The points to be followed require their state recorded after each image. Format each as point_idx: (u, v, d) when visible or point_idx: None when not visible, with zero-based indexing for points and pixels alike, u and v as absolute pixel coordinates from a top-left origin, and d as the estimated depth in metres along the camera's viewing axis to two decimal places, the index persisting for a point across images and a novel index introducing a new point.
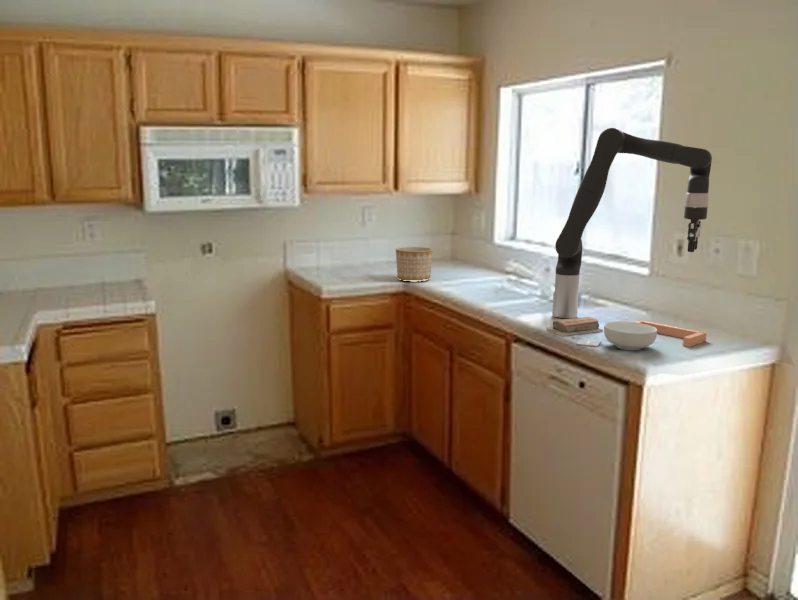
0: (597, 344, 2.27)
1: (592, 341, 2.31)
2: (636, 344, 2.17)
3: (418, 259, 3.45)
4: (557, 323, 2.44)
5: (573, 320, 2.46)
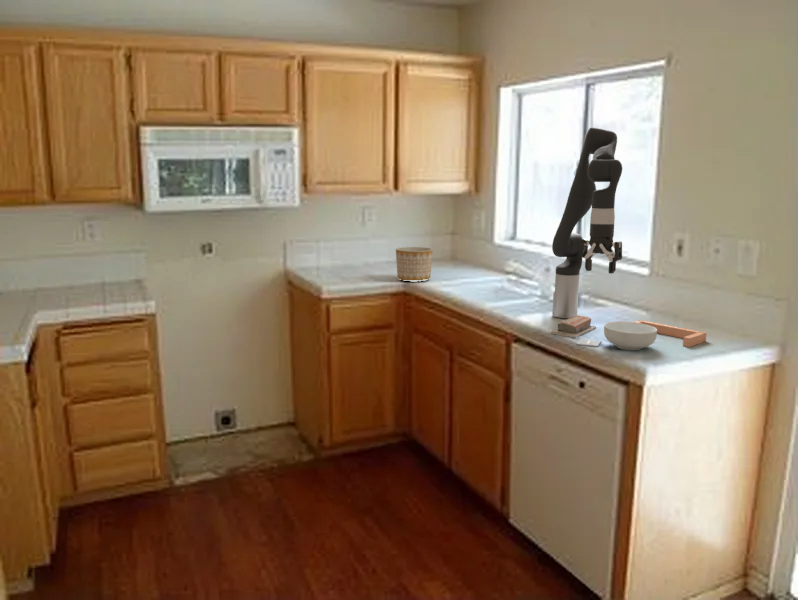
0: (597, 344, 2.27)
1: (592, 341, 2.31)
2: (636, 344, 2.17)
3: (418, 259, 3.45)
4: (564, 325, 2.41)
5: (574, 320, 2.46)
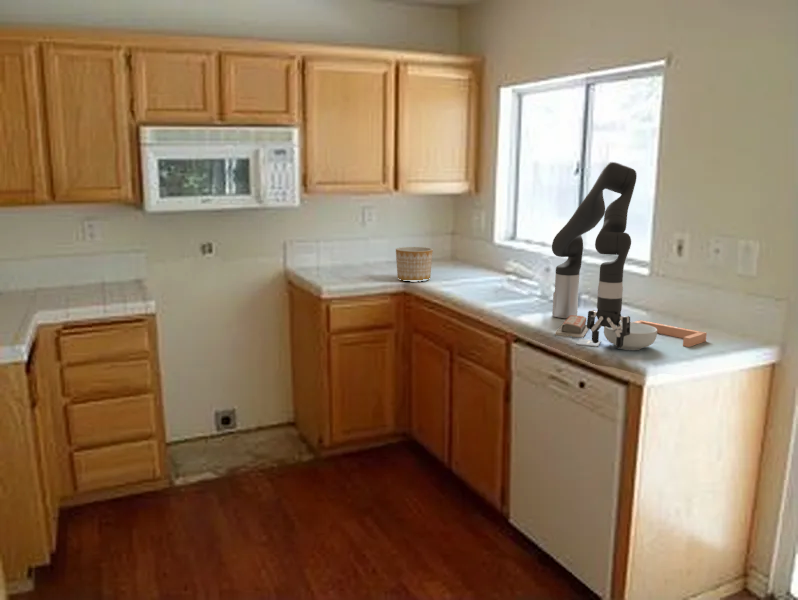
0: (597, 344, 2.27)
1: (592, 341, 2.31)
2: (636, 344, 2.17)
3: (418, 259, 3.45)
4: (568, 326, 2.40)
5: (574, 320, 2.46)
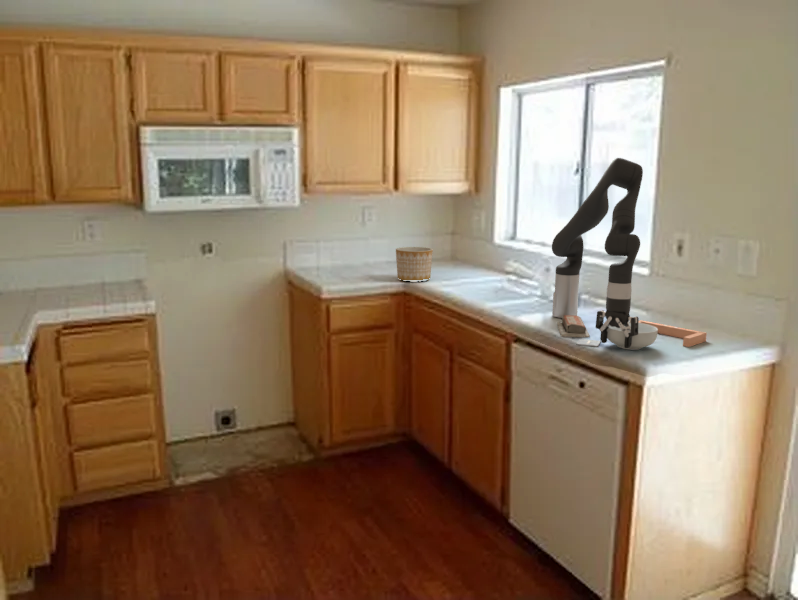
0: (597, 344, 2.27)
1: (592, 341, 2.31)
2: (637, 343, 2.18)
3: (418, 259, 3.45)
4: (574, 326, 2.40)
5: (574, 320, 2.46)
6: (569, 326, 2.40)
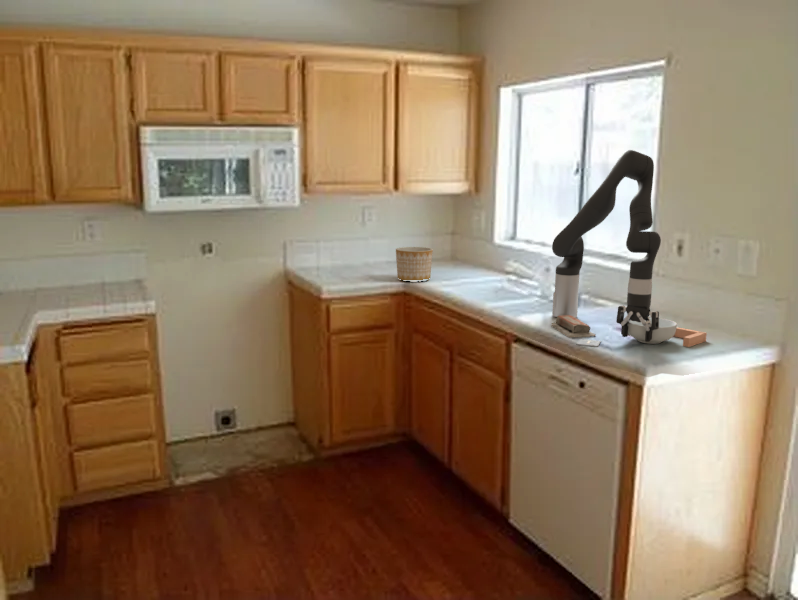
0: (597, 344, 2.27)
1: (592, 341, 2.31)
2: (657, 338, 2.25)
3: (418, 259, 3.45)
4: (579, 326, 2.39)
5: (575, 320, 2.46)
6: (575, 327, 2.39)
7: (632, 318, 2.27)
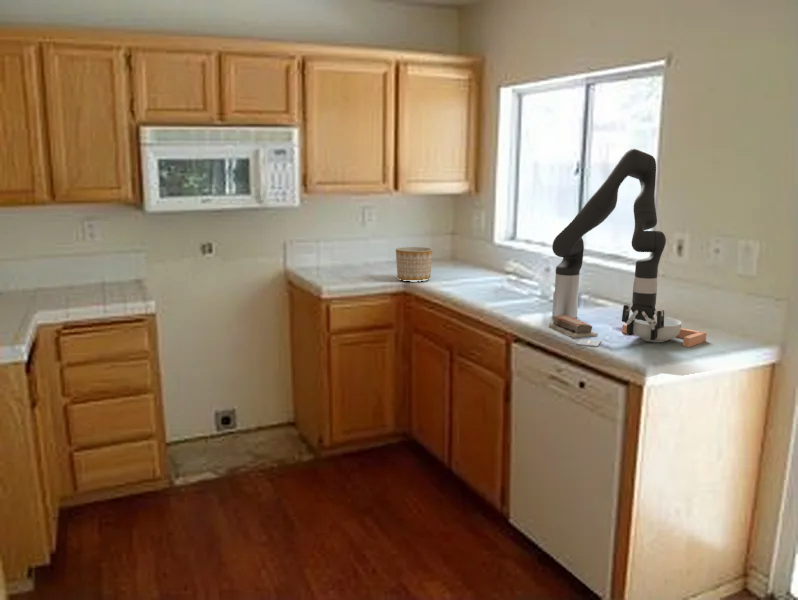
0: (597, 344, 2.27)
1: (592, 341, 2.31)
2: (662, 336, 2.27)
3: (418, 259, 3.45)
4: (582, 326, 2.40)
5: (575, 320, 2.46)
6: (579, 327, 2.39)
7: (637, 317, 2.28)
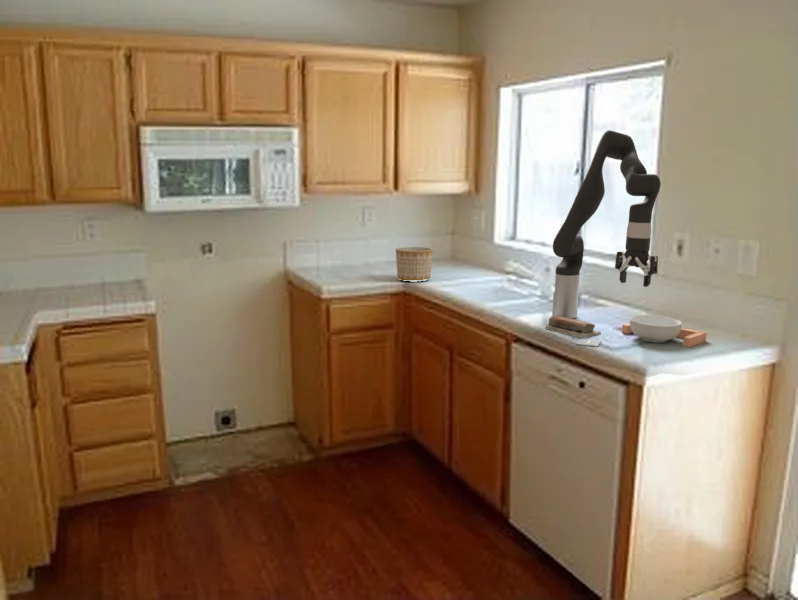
0: (597, 344, 2.27)
1: (592, 341, 2.31)
2: (662, 336, 2.27)
3: (418, 259, 3.45)
4: (588, 326, 2.40)
5: (575, 320, 2.46)
6: (585, 326, 2.39)
7: (631, 263, 2.24)
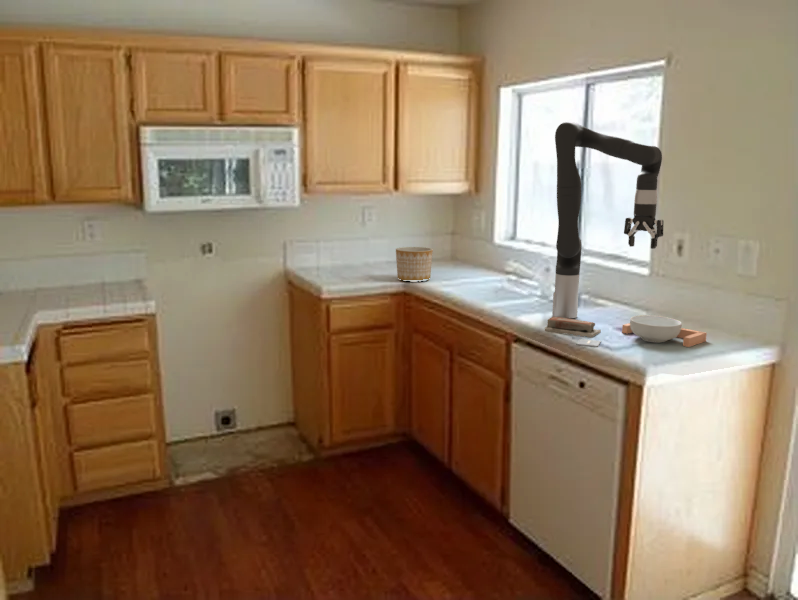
0: (597, 344, 2.27)
1: (592, 341, 2.31)
2: (662, 336, 2.27)
3: (418, 259, 3.45)
4: (592, 325, 2.42)
5: (575, 320, 2.46)
6: (591, 326, 2.40)
7: (638, 228, 2.46)
